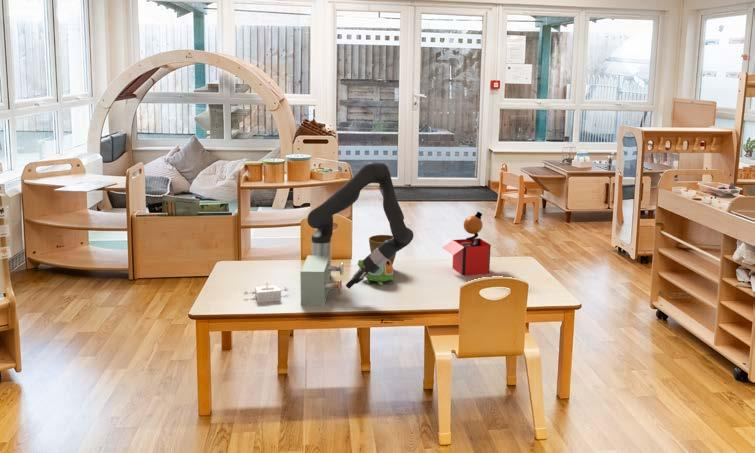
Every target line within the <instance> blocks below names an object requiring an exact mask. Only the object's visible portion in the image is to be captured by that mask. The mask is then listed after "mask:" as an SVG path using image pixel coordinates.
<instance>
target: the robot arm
mask: <svg viewBox="0 0 755 453" xmlns="http://www.w3.org/2000/svg"><path fill="white" fill-rule="evenodd" d="M371 184H378V185H379V186H380V188H381V190H382V194H383V195H382V196H383V198H382V207H383V208H382V209H383V211H384V214H385V216H386V218H387V220H388V221H387V222H388V224H389V228H390V233H391V236H393V238H392V239H390V240H386V241H384V242H383V243H382V244H381V245H380V246H379V247H378V248H376V249H375V250H374V251H373V252H371V251H370V253H369V254H368V255H367V256H366V257H365V258H364V259H362V260H363V265H364V266H363V267H360V268H358V270H357V271H356V272H354V274H353V275H352V277H351V279H350V280H349V281H348V282H346V284H345V286H346V288H347V289H349V290H350V289H351V288H352V287H353V286H354V285H356V284H359V283H360V282H362V281H364V279H365V278H366V276H367V275H368V272H371V273H373V274H374V273H375V272H377V271H378V270H379V269H380V268H381V267H382V266H383V265H384V264H385V263H386V262H387V261H388V260H389V259H390V258H391V257H392V256H393V255H394V254H395V253H396V254H397V252H399V251H401V250H402V249H404V248H405V247H407V246H408V245H409V244H411V243H412V241H413V239H414V232H413V230H412V229H410V228H409V227H407V226H406V224H405V221H404V220H405V216H404V213H403V211H402V209H401V208H402V207H401V206H400V204H399V201H398V200H397V196H396V192H395V188H394V184H393V180H392V176H391V173H390V170H389V167H388V166H387V164H386V163H383V162H376V161H375V162H374V161H370V162H367V163H366V164H364V165H363V166H362V167H361V168H360V169H359V171H358V172H357V173H356V174H355V175H354V176H353V177H351V178H350V179H349V180H348V181H347V182H346V183H345V184H343V185H342V186H341V187H339V189H337V190H336V191H335V192H334V193H333V194H332V195H330V197H328V198H327V199H326V200H325V201H324V202H323V203H321V204H320V205H318V206H317V207H315V208H314V209H312V210H311V211H310V212H308V215H307V224H308V226H309V227H311V228H312V229H315V230H316V231H315V232H314V233H313V234H312V235H311V255H321V256H330V266H332V237H333V229H334V216H335V215H337V214H338V213H340V212H343V211H344V210H346V209H348V208H349V207H351V206H352V205H353V204H355V203H356V202H357V200H358V199H359V197H360V193H361V191H362V190H363V189H364V188H365V187H367V186H369V185H371ZM331 276H332V271H330V277H331Z"/></svg>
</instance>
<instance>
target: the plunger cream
mask: <svg viewBox="0 0 755 453" xmlns="http://www.w3.org/2000/svg"><path fill="white" fill-rule="evenodd" d="M344 270H345V269H344V262H341V261H340V264H339V265H331V266H328V271H331V272H339V275H340V276H342V275H343V276H344Z"/></svg>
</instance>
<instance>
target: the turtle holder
mask: <svg viewBox="0 0 755 453" xmlns="http://www.w3.org/2000/svg"><path fill="white" fill-rule="evenodd" d="M363 260H364V259H359V260H358V262H357V264H356V265H357V266H358V267H359V268H358V269H360V267H363V266H364V265H363ZM365 278H366V283H367V284H371V281H372V282H373V281H374V282H377V285H379V286H384V283H383V282H387V281H388V282H394V280H393V278H394V266H393V265H392V264H391V262H390V260H388V261H387V262H386V263H385V264H384V265H383V266H382V267H381V268H380V269H379V270H378V271H377V272H375V273H374V274H373V273H371V272H368V275H367V276H366V277H365Z"/></svg>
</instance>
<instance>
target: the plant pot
mask: <svg viewBox="0 0 755 453" xmlns="http://www.w3.org/2000/svg"><path fill="white" fill-rule="evenodd" d="M392 238H393V235H392V234H391V235H389V234H376V235H372V236H370V237H368V243H369V250H370V253H371V252H373V251H374V250H375V249H376V248H378V247H379V246H380V245H381V244H382V243H383V242H384V241H386V240H390V239H392ZM396 255H397V252H396V253H395V254H394V255H393V256H392V257H391V258H390V259H389V260H390V262H391V264H392V266H393V264H394V262H395V259H396Z"/></svg>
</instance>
